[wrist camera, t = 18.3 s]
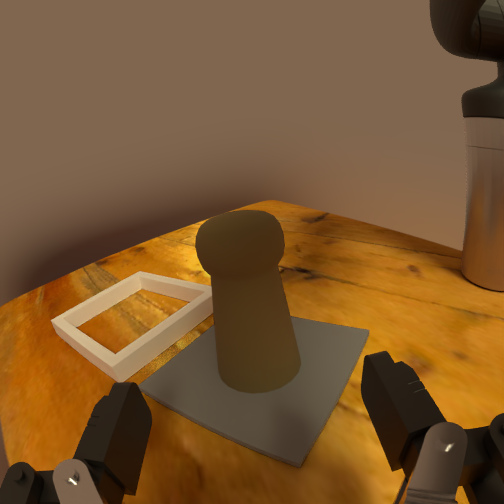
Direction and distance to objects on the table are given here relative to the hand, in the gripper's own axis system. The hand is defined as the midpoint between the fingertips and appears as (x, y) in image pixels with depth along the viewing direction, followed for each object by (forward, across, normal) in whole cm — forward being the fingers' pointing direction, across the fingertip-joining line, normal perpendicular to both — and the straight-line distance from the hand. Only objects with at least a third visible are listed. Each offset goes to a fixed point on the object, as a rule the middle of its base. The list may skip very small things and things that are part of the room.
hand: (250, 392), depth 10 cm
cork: (+10, 0, +7) cm, 12 cm away
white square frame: (+19, +13, +8) cm, 24 cm away
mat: (+10, 0, +8) cm, 12 cm away
